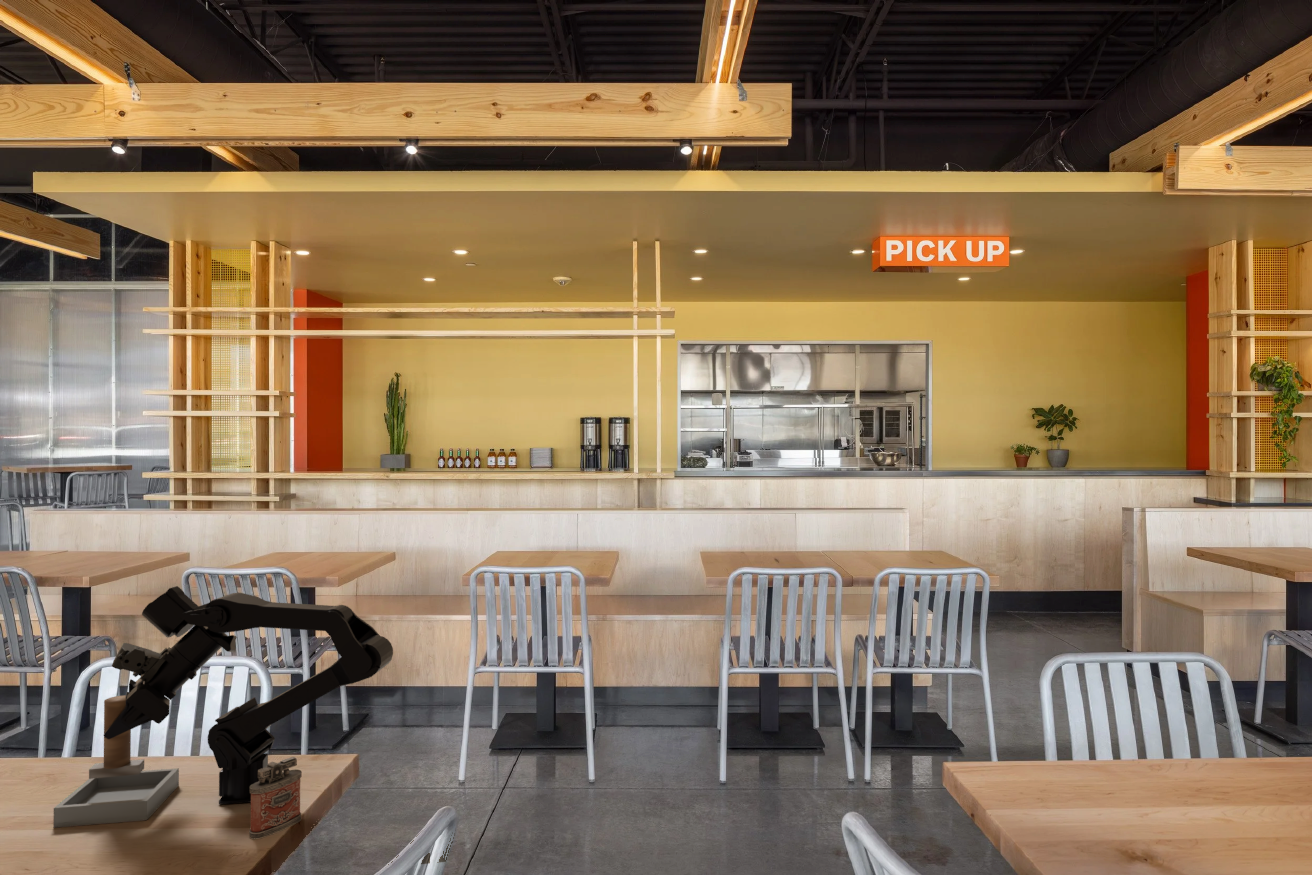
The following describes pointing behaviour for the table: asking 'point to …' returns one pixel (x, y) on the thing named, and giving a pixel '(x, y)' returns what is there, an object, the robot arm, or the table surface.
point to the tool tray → (116, 798)
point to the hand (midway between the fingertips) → (106, 733)
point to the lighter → (275, 799)
